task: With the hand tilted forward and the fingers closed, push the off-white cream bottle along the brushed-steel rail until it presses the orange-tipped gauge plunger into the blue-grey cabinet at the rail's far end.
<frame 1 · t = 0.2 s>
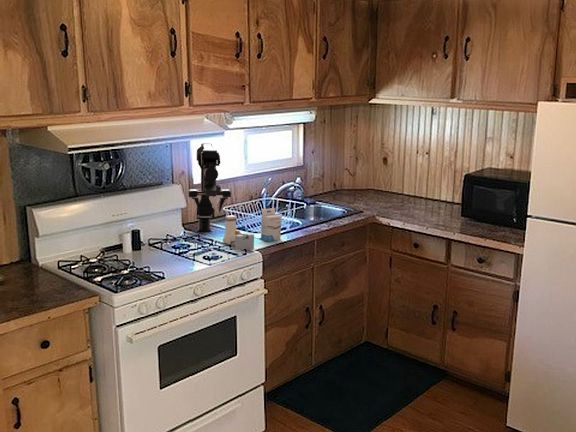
hand: (209, 212, 282), 15 cm above the worktop, tool pointing down, fingers open, 9 cm apart
gauge cabinet: (244, 249, 279), on the worktop
cream bottle: (231, 229, 287), point 6 cm above the worktop, slide at 0.0 cm
gauge plunger: (241, 234, 280), point 6 cm above the worktop, slide at 0.0 cm
steel rail: (234, 244, 286), on the worktop
ink box: (270, 240, 297), on the worktop
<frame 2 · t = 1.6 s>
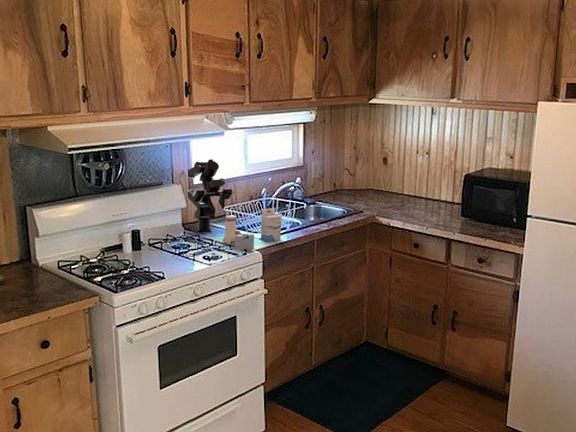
hand: (218, 209, 296), 14 cm above the worktop, tool tilted 45°, fingers open, 5 cm apart
nothing on the worktop moved.
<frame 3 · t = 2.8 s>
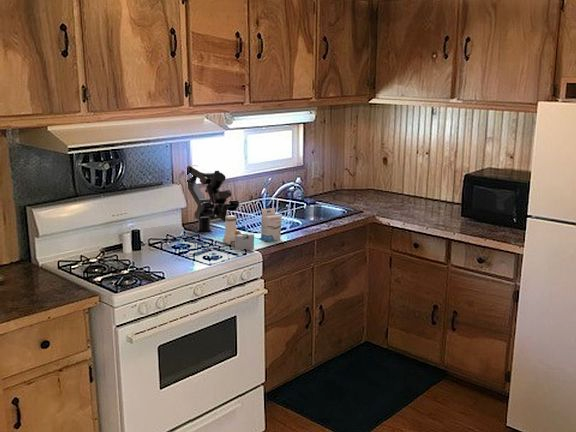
hand: (225, 221, 292), 9 cm above the worktop, tool tilted 45°, fingers closed
nothing on the worktop moved.
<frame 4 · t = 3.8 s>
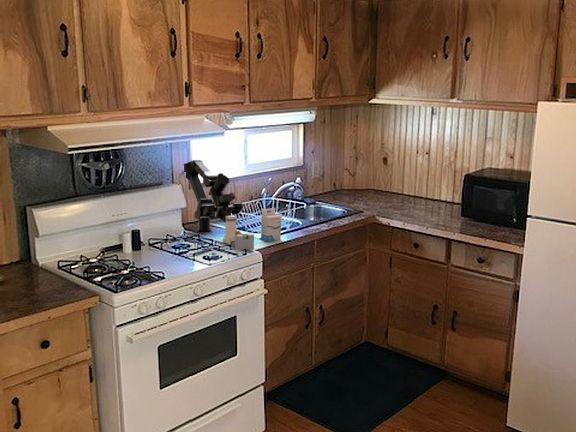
hand: (229, 224, 289), 8 cm above the worktop, tool tilted 45°, fingers closed, pressing on cream bottle
cream bottle: (231, 229, 287), point 6 cm above the worktop, slide at 0.2 cm, touching gripper
everything else where it was.
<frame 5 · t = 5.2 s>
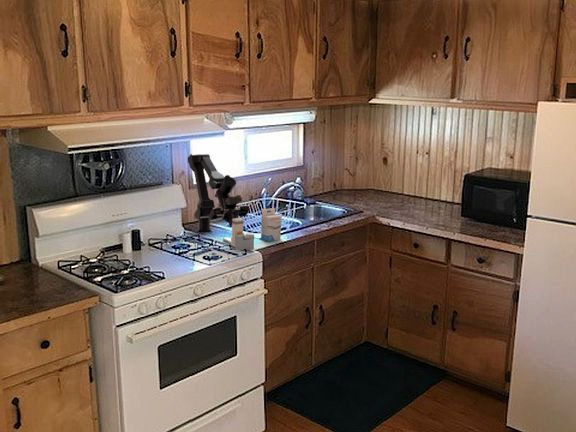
hand: (235, 227, 284), 8 cm above the worktop, tool tilted 45°, fingers closed
cream bottle: (238, 232, 282), point 6 cm above the worktop, slide at 6.7 cm, touching gauge plunger
gauge plunger: (243, 235, 278), point 6 cm above the worktop, slide at 2.1 cm, touching cream bottle
everything else where it was.
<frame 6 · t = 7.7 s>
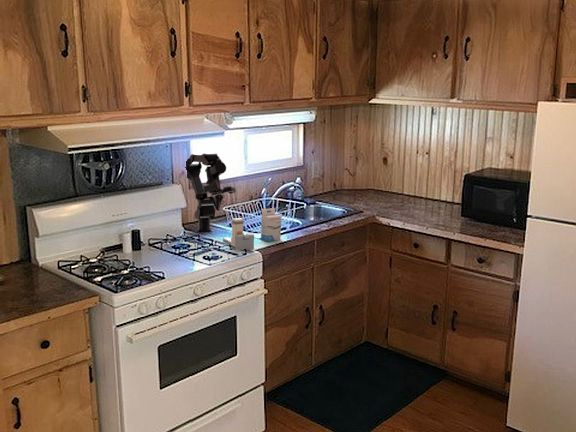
hand: (217, 210, 295), 13 cm above the worktop, tool tilted 20°, fingers closed
nothing on the worktop moved.
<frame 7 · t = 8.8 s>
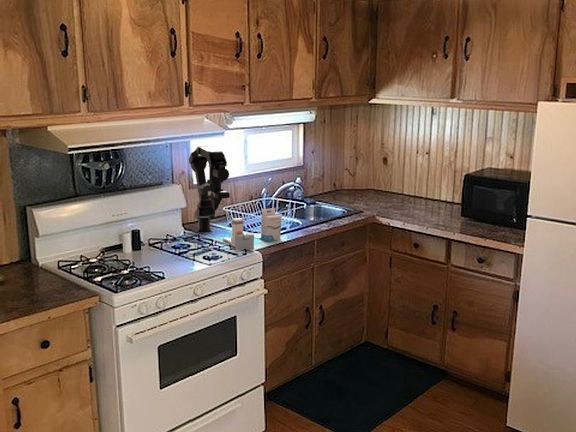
hand: (215, 210, 296), 13 cm above the worktop, tool pointing down, fingers closed
nothing on the worktop moved.
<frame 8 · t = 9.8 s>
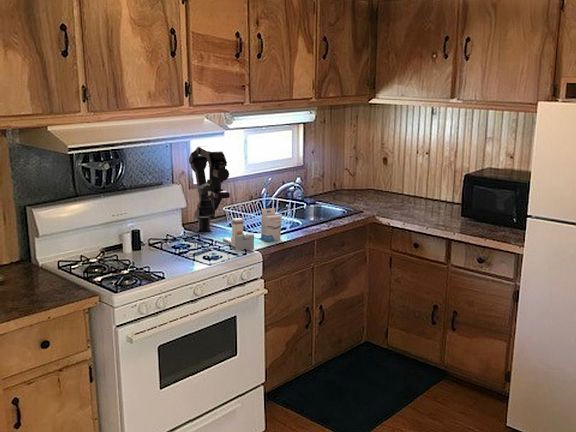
hand: (215, 210, 296), 13 cm above the worktop, tool pointing down, fingers closed
nothing on the worktop moved.
at the end: cream bottle slide at 6.7 cm; gauge plunger slide at 2.1 cm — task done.
